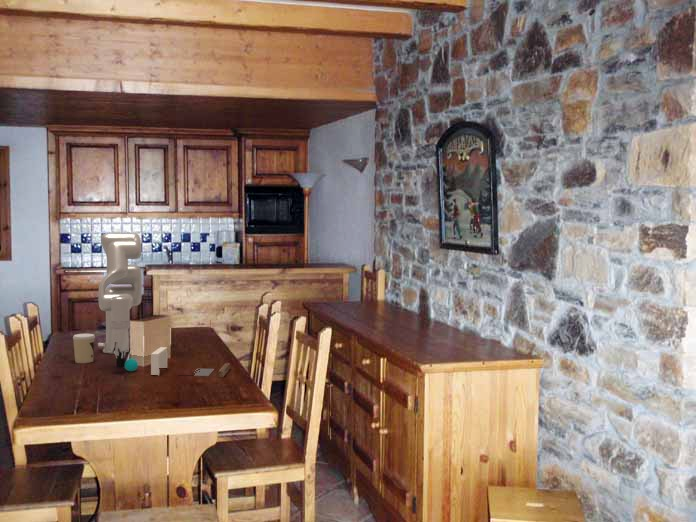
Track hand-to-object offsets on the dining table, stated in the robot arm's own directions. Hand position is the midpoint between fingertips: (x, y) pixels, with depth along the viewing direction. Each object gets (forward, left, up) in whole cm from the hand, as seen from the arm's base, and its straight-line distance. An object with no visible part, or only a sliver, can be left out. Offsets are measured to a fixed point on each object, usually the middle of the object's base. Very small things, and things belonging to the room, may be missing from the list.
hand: (120, 367), depth 314 cm
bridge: (+17, 0, -2) cm, 17 cm away
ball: (+5, 0, +1) cm, 5 cm away
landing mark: (+33, 0, -2) cm, 33 cm away
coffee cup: (-22, +17, -2) cm, 28 cm away
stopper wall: (+45, 0, -2) cm, 45 cm away
